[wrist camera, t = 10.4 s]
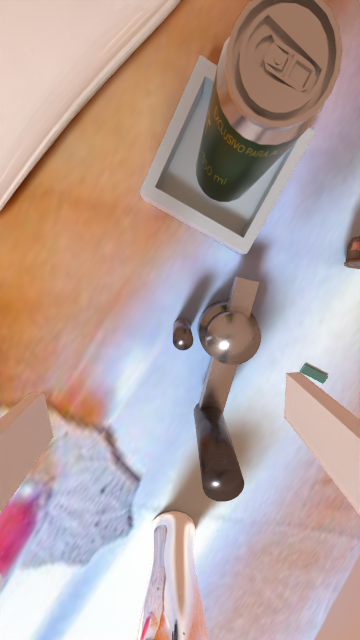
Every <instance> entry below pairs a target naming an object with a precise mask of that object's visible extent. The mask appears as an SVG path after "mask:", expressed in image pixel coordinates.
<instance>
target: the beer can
mask: <svg viewBox="0 0 360 640" xmlns="http://www.w3.org/2000/svg"><path fill="white" fill-rule="evenodd" d="M341 55H342V45H341V37H340V29H339V26H338V24H337V22H336V19H335V17H334V15H333V12H332V10H331V8H330V7H329V6H328V5H327V4H326V3H325V2H324V0H252V1H251V2H250V3H248V4H247V5H246V6H245V8H244V9H243V11H242V13H241V14H240V16H239V17H238V19H237V21H236V22H235V24H234V26H233V29H232V32H231V34H230V36H229V37H228V39H227V40H226V42H225V44H224V46H223V49H222V52H221V56H220V59H219V62H218V66H217V70H216V75H215V79H214V84H213V88H212V93H211V98H210V102H209V107H208V112H207V116H206V121H205V126H204V130H203V135H202V139H201V144H200V149H199V153H198V158H197V163H196V176H197V180H198V184H199V186H200V187H201V189H202V190H203V192H204V193H205V194H206V195H207V196H208V197H210V198H211V199H213V200H216V201H218V202H231V201H234V200H237V199H238V198H240V197H241V196H242V195H244V194H245V193H246V192H247V191H248V190H249V189H250V188H251V187H252V186H253V185H254V184H255V183H256V182H257V181H258V180H259V179H260V178H261V177H262V176H263V175H264V174H265V172H266V171H267V170H268V169H269V168H270V167H271V166H272V165H273V164H274V163H275V162H276V161H277V160H278V159H279V158H280V157H281V156H282V155H283V154H284V153H285V152H286V151H287V150H288V149H289V148H290V147H291V146H292V145H293V144H294V142H295V141H296V140H297V139H298V138H299V137H300V136H301V135H302V134H303V133H304V132H305V131H306V130H307V129H308V128H309V127H310V125H311V124H312V123H313V121H314V120H315V119H316V117H317V116H318V115H319V113H320V112H321V110H322V108H323V105H324V103H325V101H326V99H327V98H328V97H329V95H330V94H331V92H332V90H333V87H334V85H335V82H336V80H337V77H338V74H339V71H340V63H341Z"/></svg>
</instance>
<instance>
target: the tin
mask: <svg viewBox="0 0 360 640" xmlns="http://www.w3.org/2000/svg"><path fill="white" fill-rule="evenodd" d="M344 266H346V267H349V268H357V269H360V237H355V238H352V239H351V241H350V244H349V248H348V253H347V258H346V262H345V263H344Z"/></svg>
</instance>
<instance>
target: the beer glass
mask: <svg viewBox="0 0 360 640" xmlns="http://www.w3.org/2000/svg"><path fill="white" fill-rule="evenodd" d="M151 539H152V559H151V567H150V572H149V577H148V581H147V586H146V590H145V595H144V599H143V604H142V608H141V613H140V619H139V624H138V630H137V636H136V640H208V637H207V629H206V623H205V616H204V610H203V605H202V600H201V595H200V590H199V585H198V580H197V575H196V570H195V563H194V539H195V524H194V522H193V520H192V519H191V518H190V517H189V516H188V515H187V514H185V513H182V512H179V511H168V512H165V513H162V514H160V515H159V516H157V517H156V518H155V519H154V521H153V523H152V526H151Z"/></svg>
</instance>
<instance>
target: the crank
mask: <svg viewBox="0 0 360 640" xmlns="http://www.w3.org/2000/svg"><path fill="white" fill-rule="evenodd" d="M259 283H260V282H257V281H253V280H248V279H244V278H240V277H235V279H234V282H233V286H232V290H231V293H230V297H229V301H228V305H227V308H226V310H225V311H222V312H219V313H217V314H216V315H214V316H213V317H212V318H211V319H210V321H209V322H208V324H207V326H206V329H205V341H206V344H207V346H208V349H209V351H210V353H211V355H212V356H211V360H210V363H209V367H208V371H207V375H206V378H205V382H204V386H203V389H202V393H201V397H200V400H199V403H198V404H197V405H196V406H195V409H194V418H195V426H196V434H197V442H198V451H199V459H200V467H201V476H202V484H203V490H204V492H205V494H206V495H207V496H208V497H209V498H211V499H213V500H216V501H229V500H232V499H234V498H236V497H237V496H238V495H239V494H240V493H241V492H242V490H243V488H244V480H243V476H242V473H241V470H240V467H239V464H238V461H237V457H236V454H235V451H234V448H233V445H232V441H231V438H230V435H229V432H228V429H227V426H226V422H225V419H224V416H223V411H224V407H225V404H226V401H227V397H228V394H229V391H230V387H231V384H232V381H233V377H234V374H235V371H236V367H237V364H241V363H244V362H246V361H248V360H249V359H251V358H252V357H253V356H254V355H255V353H256V352H257V350H258V348H259V346H260V342H261V334H260V330H259V327H258V325H257V324H256V323H255V321H254V320H252V319H251V318H250V317H249V316H250V313H251V310H252V306H253V303H254V300H255V296H256V293H257V290H258V286H259Z"/></svg>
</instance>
